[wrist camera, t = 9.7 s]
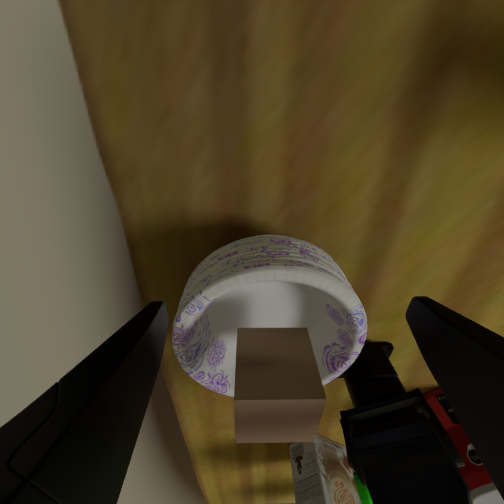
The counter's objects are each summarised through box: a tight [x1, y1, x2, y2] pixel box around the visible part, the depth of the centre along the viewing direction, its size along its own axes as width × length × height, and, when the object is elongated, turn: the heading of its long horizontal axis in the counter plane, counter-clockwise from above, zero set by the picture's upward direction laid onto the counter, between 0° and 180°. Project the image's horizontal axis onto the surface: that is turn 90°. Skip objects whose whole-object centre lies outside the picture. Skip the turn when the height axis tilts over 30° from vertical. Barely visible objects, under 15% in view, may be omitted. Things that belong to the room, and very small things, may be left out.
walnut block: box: [234, 328, 326, 443], centre depth 17 cm, size 5×5×5 cm
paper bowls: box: [172, 235, 367, 397], centre depth 22 cm, size 15×15×8 cm
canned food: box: [423, 388, 504, 504], centre depth 32 cm, size 8×8×11 cm
